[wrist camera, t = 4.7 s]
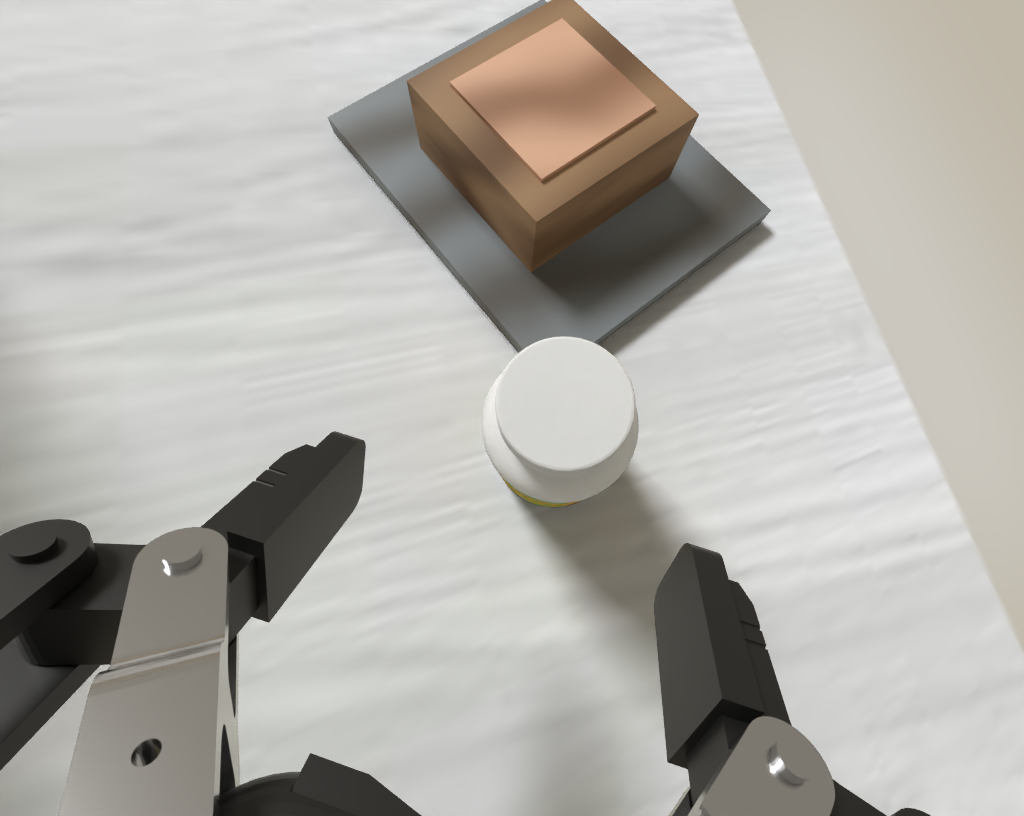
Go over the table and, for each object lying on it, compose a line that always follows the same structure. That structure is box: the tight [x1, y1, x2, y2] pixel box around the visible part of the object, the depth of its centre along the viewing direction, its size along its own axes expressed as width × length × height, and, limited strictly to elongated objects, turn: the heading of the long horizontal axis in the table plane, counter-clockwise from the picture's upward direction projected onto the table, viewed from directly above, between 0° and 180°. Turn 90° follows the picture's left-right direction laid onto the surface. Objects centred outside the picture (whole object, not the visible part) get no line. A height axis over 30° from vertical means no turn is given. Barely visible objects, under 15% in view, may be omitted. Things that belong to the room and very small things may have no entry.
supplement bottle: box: [482, 336, 639, 507], centre depth 18 cm, size 5×5×10 cm
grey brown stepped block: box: [328, 0, 771, 352], centre depth 24 cm, size 20×16×5 cm
